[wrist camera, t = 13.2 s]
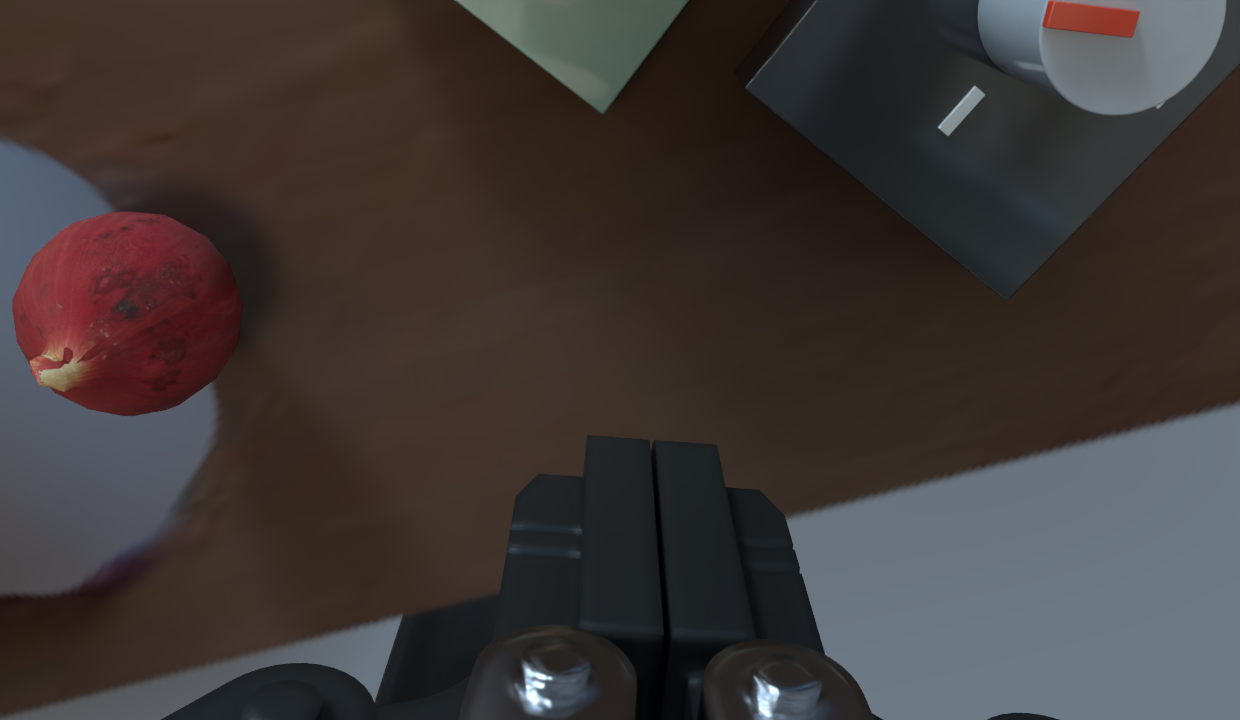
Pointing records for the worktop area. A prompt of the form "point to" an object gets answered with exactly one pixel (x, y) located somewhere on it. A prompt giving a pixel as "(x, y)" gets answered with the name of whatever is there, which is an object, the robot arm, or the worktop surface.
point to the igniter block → (581, 38)
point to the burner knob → (1102, 47)
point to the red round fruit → (127, 313)
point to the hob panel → (957, 125)
